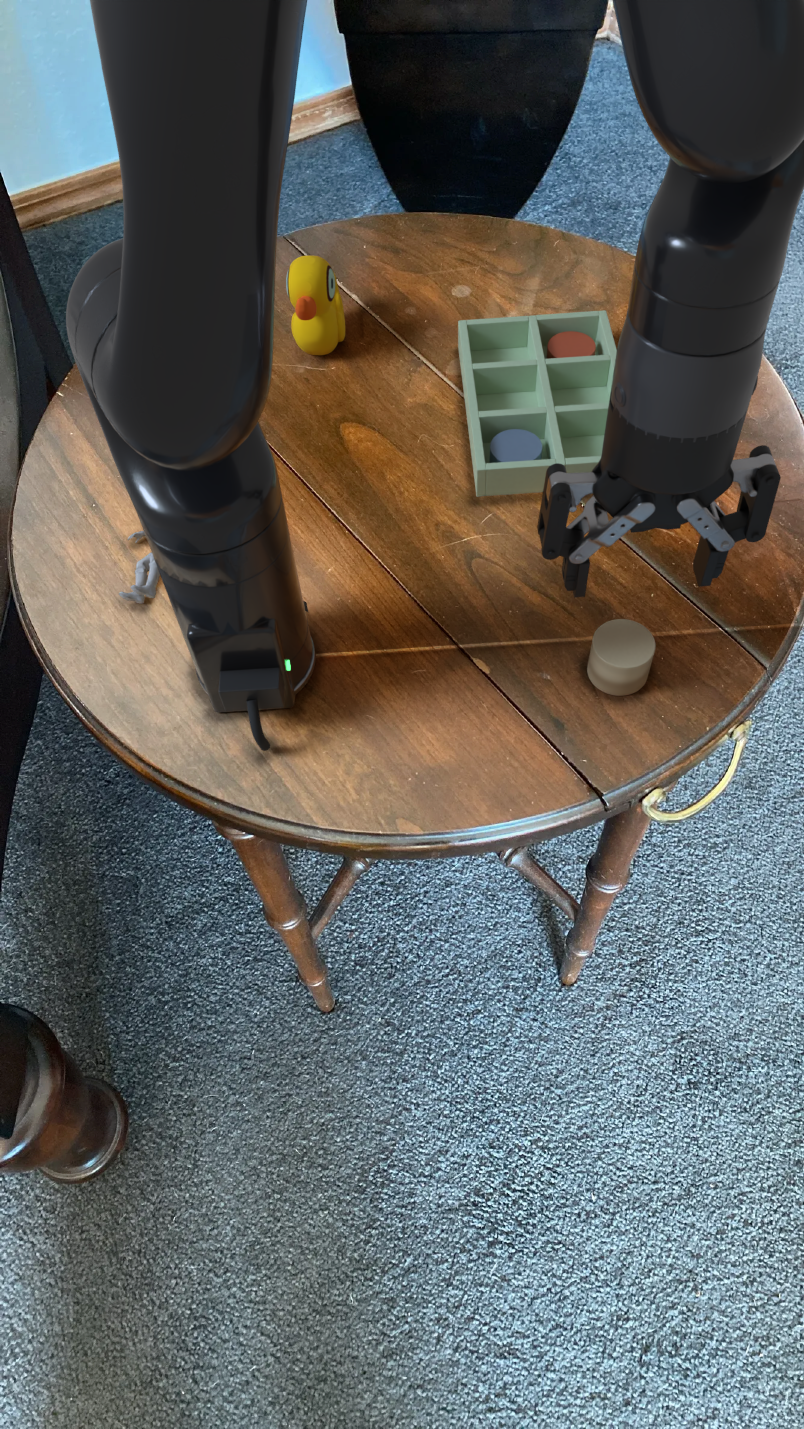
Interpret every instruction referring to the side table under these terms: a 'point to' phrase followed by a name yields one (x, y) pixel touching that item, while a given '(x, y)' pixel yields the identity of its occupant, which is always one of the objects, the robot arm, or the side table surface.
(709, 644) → the side table surface
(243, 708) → the robot arm
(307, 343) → the duckling
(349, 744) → the side table surface
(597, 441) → the green rectangular divided tray
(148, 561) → the soldier figure
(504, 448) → the slate token
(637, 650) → the cream token
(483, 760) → the side table surface
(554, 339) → the terracotta token
